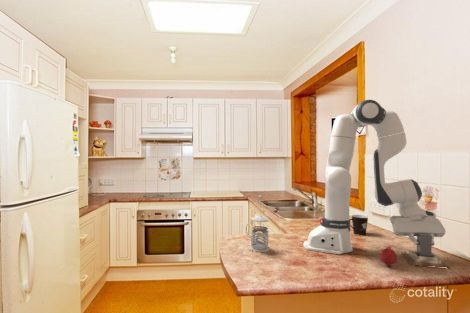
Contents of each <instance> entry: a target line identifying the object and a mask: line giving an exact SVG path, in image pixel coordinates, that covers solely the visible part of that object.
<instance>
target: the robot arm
mask: <svg viewBox="0 0 470 313" xmlns="http://www.w3.org/2000/svg"><path fill="white" fill-rule="evenodd" d="M367 126H372V128H374V129H375V131H376V136H377V141H378V144H377V145H378V146H377V148H376V149H375V150H374V152H373V174H374V198H375V200H376V202H377V203H378V204H379V205H381V206H383V207H388V206H393V205H396V207H397V208H398V213H399V215H392V216H390V218H389V221H390V223H391V226H392V231H393V233H394V235H395V236H398V237H399V236H402V237H408V239H410V241H412V242H413V243H414V245H415V246H417V245H419V244H420V242H419V240H418V239H417V233H428V234H430V235H431V236H432V246H431V247H433V246H435V241H434V239H435V238H443V236H445V235H446V228H445V226H444V224H442V222H441V220H440V219H438V218H437V215H436V213H435V212H434V211H429V210H426V209H424V208H421V207H420V206H419V204H418V202H420V200H421V198H422V197H423V192H422V189H421V187H420V185H419V183H418V182H417V181H416V180H413V179H412V178H411V179H409V178H408V179H404V180H399V181H393V182H388V183H387V182H386V180H385V165H386V163H387V162H388V161H389V160H390V159H392V158H393V157H396V156H397V155H398V154H399V153H401V152H402V151H403V150H404V149H405V148H406V146H407V136H406V131H405V129H404V126H403V123H402V121H401V119H400V117H399V115H398V114H397V112H395V111H391V110H388V111H386V109H385V108H384V107H383V106H382V105H381V104H380V103H379V102H377V101H376V100H374V99H364V100H362V101H361V102H359V103H358V104H356V105H355V107H354V108H353V109H352V110H351V111H350V113H349V114H347V113H344V114H340V115H338V116H336V118H335V119H334V122H333V125H332V128H331V133H330V134H331V135H330V140H329V147H328V148H329V149H328V155H327V161H326V165H325V166H326V167H325V171H324V182H325V191H324V192H325V193H324V196H325V197H324V217H323V216H320V217H319V218H318V220H319V222H320V225H318V226H316V227H315V228H314V229H312V230H311V231H310V232H309V234H308V236H307V239H306V240H304V241H303V248H304V249H305V250H307V251H314V252H321V253H327V254H332V255H333V254H335V255H343V254H346V253H351V252H353V249H354V248H353V247H352V246H353V245H352V241H351V233H350V232H351V227H350V225H351V220H350V219H351V218H350V199H351V188H352V176H351V172H350V170H351V165H352V161H353V156H354V151H355V144H356V138H357V136H356V135H357V131H358V129H359V128H362V127H363V128H364V127H367Z"/></svg>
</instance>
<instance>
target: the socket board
mask: <svg viewBox="0 0 470 313" xmlns="http://www.w3.org/2000/svg"><path fill="white" fill-rule="evenodd" d="M402 255H403V256H404V257H405V258H406V259H407V260H408V261H409V262H410V263H411V264H412V265H421V266H420V267H423V266H435V267H447V268H449V269H450V266H449V265H448V264H447V263H445V262H444V261H443V260H442V259H441V258H440V257H439V256H438V255H436V254H435V253H434V252H432V251H431V257H422V256H419V255H418V254H417V250H412V249H411V250H409V249H408V252H401V256H402ZM403 256H402V257H403ZM404 257H403V258H404ZM405 258H404V259H405ZM406 259H405V260H406ZM407 260H406V261H407ZM408 261H407V262H408ZM409 262H408V263H409ZM410 263H409V264H410ZM411 264H410V265H411ZM412 265H411V266H412Z"/></svg>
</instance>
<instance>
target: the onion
mask: <svg viewBox="0 0 470 313" xmlns="http://www.w3.org/2000/svg"><path fill="white" fill-rule="evenodd" d="M397 255H398V254H397V253H396V252H395V250H393V249H392V246H390V245H389V246H387V247H386V248H384V249H383V250H381V253H380V257H379V258H380V259H381V262H383V264H384V265H386V266H387V267H391V266H392V265H394V264H396V263H397V262H398V256H397Z"/></svg>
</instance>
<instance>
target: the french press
mask: <svg viewBox="0 0 470 313" xmlns="http://www.w3.org/2000/svg"><path fill="white" fill-rule="evenodd" d="M258 199H259V214H261V199H263V195H258ZM251 220H252V221H250V222H248V223H247V224H246V226H245V233H246V235H247V236H248V237H249V238H250V242H251V243H250V244H251V245H250V247H249V250H250V249H251V250H250V251H252V250H253V251H252V252H256V251H257V253H266V252H268V251H270V250H271V248H270V247H269V230H268V226H261V225H257V226H256V225H255V226H253V227H252V231H251V235H250V234H249V233H248V226H249V224H251V225H253V224H254V223H253V222H257V223H267V222H269V218H268V217H266V216H263V215H255V216H253V217H251Z"/></svg>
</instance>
